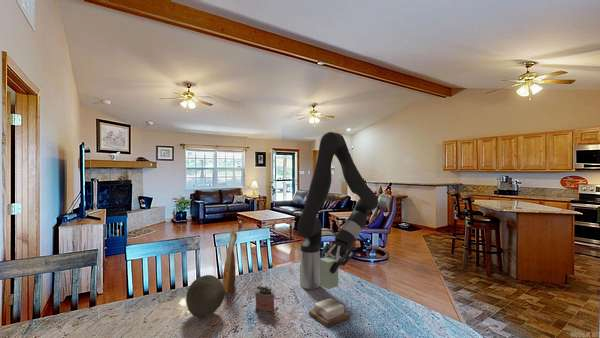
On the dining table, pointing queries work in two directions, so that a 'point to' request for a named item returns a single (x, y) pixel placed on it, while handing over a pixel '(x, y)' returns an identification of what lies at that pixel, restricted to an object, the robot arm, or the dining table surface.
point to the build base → (328, 322)
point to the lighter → (264, 300)
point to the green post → (328, 273)
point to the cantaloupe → (205, 296)
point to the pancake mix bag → (230, 264)
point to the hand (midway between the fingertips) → (326, 270)
